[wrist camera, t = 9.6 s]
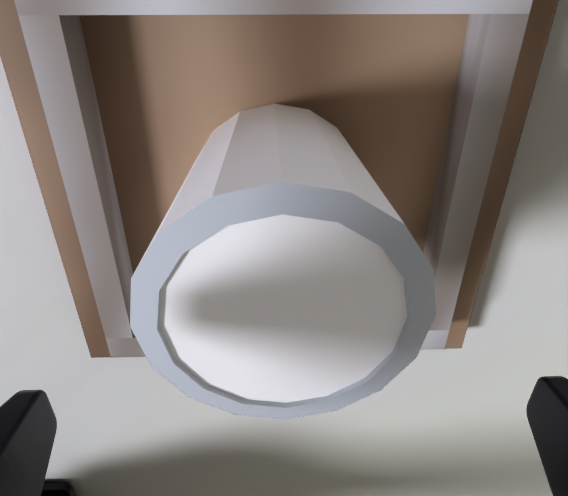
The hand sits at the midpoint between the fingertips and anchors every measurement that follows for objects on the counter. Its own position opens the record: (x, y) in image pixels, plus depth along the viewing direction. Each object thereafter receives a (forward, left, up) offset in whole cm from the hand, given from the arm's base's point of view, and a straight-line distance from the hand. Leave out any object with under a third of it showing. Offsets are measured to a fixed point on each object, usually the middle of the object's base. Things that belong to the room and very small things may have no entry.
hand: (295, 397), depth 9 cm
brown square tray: (0, 0, -10) cm, 10 cm away
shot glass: (0, 0, -9) cm, 9 cm away
